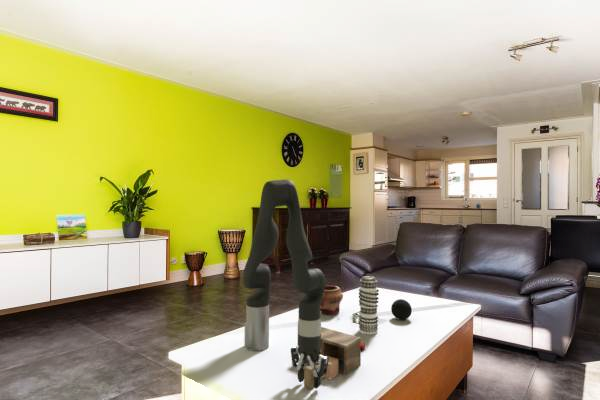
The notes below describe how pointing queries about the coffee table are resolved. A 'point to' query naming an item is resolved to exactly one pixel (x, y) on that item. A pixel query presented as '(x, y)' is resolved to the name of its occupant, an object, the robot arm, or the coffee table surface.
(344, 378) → the coffee table surface
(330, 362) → the tethered block
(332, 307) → the decorative planter
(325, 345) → the shelf
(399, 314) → the decorative ball
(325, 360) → the robot arm
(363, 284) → the stacked ring tower
